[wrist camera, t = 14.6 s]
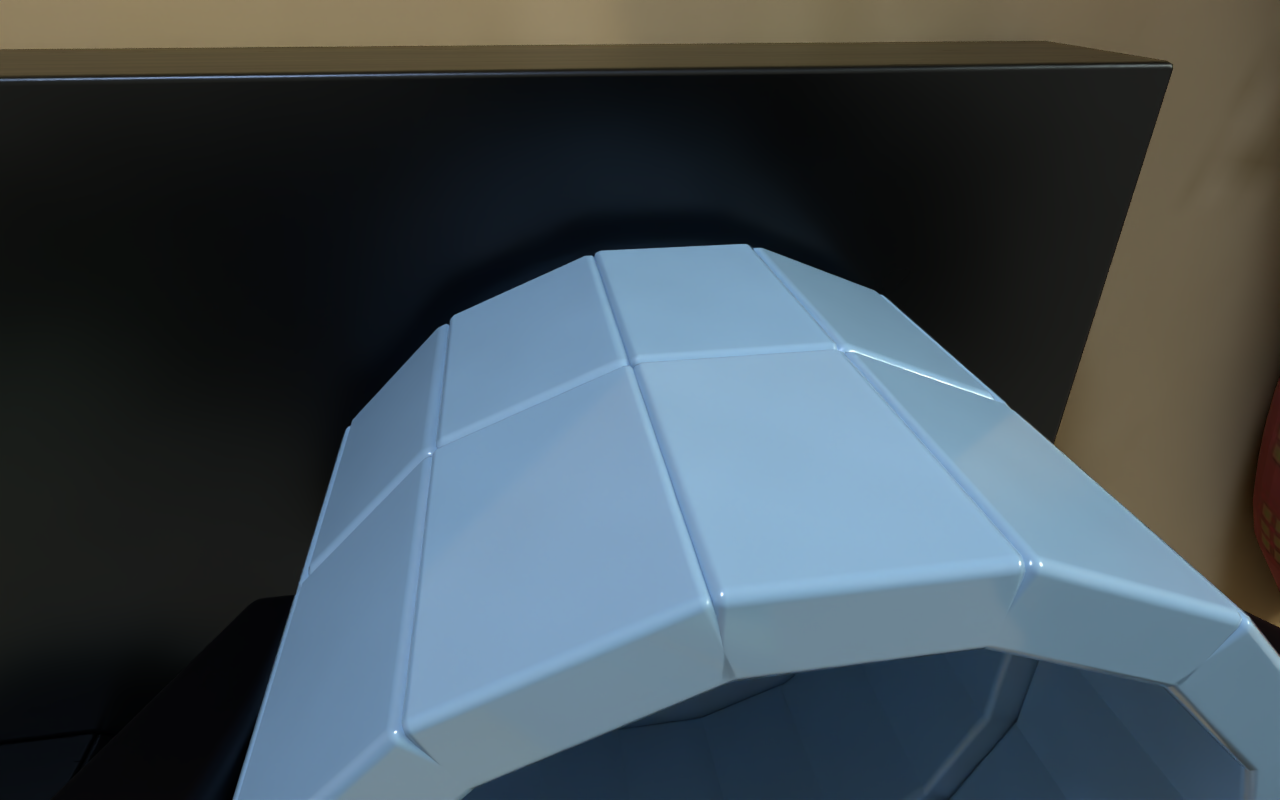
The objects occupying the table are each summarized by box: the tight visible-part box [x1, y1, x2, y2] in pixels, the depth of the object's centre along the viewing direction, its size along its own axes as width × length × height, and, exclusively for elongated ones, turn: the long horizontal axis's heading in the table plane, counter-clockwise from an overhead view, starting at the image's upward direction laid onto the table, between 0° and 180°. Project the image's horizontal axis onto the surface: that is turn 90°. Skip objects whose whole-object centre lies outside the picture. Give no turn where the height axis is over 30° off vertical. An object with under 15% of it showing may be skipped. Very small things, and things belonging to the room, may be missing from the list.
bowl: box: [233, 244, 1280, 800], centre depth 7 cm, size 7×7×4 cm
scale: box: [0, 41, 1173, 800], centre depth 9 cm, size 14×12×4 cm
